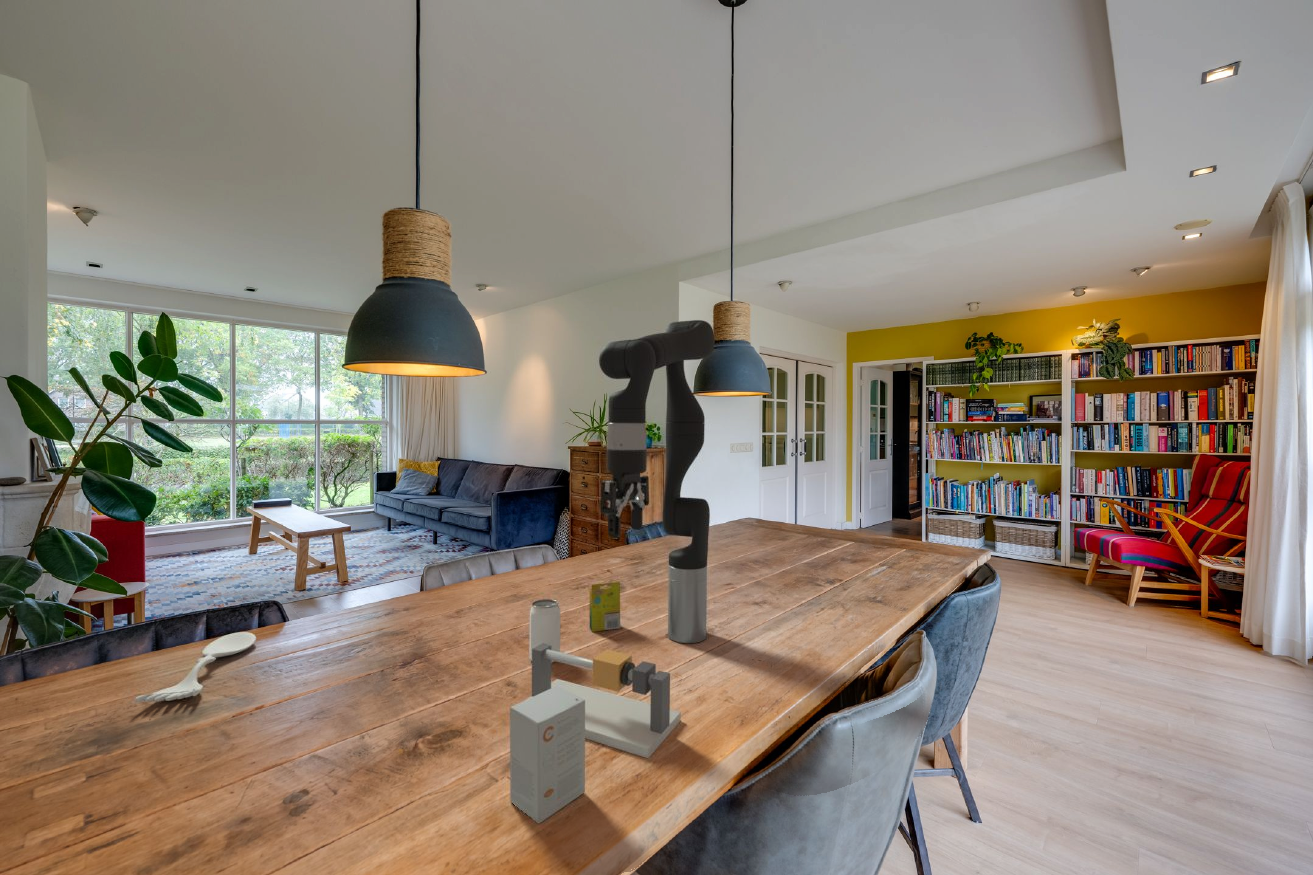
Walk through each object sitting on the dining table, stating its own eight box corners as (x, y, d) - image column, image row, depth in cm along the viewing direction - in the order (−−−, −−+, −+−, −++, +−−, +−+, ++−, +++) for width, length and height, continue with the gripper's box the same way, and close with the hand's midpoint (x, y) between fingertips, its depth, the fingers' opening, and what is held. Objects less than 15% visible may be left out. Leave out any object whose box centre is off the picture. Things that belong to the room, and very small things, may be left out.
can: (553, 666, 114) (553, 609, 113) (524, 663, 115) (524, 606, 115) (564, 653, 120) (565, 599, 120) (537, 651, 121) (537, 597, 121)
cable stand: (557, 686, 105) (557, 630, 105) (680, 720, 93) (681, 657, 93) (514, 715, 94) (515, 653, 94) (648, 758, 83) (649, 687, 82)
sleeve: (606, 674, 95) (606, 649, 95) (631, 680, 93) (631, 655, 93) (592, 684, 91) (592, 658, 91) (618, 691, 89) (618, 665, 89)
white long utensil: (131, 717, 93) (131, 697, 93) (216, 645, 123) (216, 629, 123) (195, 709, 96) (195, 689, 96) (263, 640, 126) (263, 625, 126)
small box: (556, 773, 79) (556, 684, 78) (586, 793, 75) (586, 698, 74) (508, 802, 73) (508, 706, 72) (538, 825, 68) (538, 723, 68)
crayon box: (617, 624, 138) (618, 578, 138) (620, 629, 135) (621, 582, 135) (588, 627, 136) (589, 581, 135) (591, 632, 133) (591, 584, 133)
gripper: (625, 449, 95) (624, 541, 95) (661, 446, 108) (660, 528, 108) (589, 448, 98) (588, 537, 99) (628, 445, 111) (627, 525, 111)
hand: (625, 532), depth 103 cm, fingers open, 8 cm apart
